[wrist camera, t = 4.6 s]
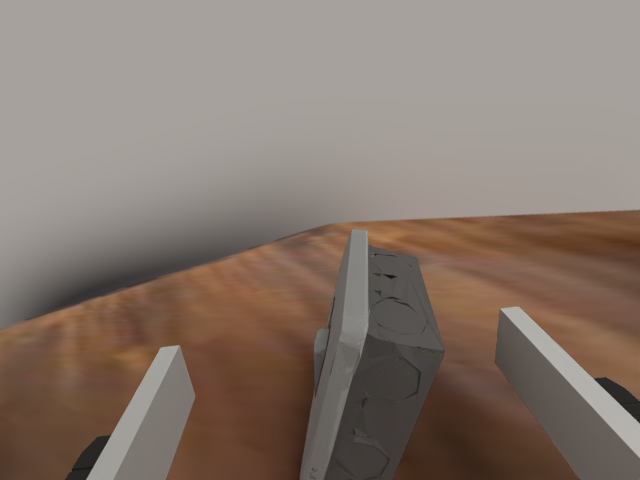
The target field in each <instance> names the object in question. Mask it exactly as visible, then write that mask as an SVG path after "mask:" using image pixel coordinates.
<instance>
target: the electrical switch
mask: <svg viewBox="0 0 640 480" xmlns="http://www.w3.org/2000/svg"><path fill="white" fill-rule="evenodd" d="M426 322H427V325H426V326H425V324H426ZM413 346H414V347H413ZM417 347H418V348H417ZM420 348H422V349H420ZM424 349H426V350H424ZM428 350H430V351H428ZM431 351H434V352H431ZM444 351H445V350H444V347H443V344H442V341H441V337H440V334H439V331H438V327H437V324H436V321H435V317H434V314H433V311H432V307H431V304H430V301H429V297H428V294H427V291H426V288H425V284H424V281H423V278H422V274H421V271H420V268H419V264H418V261H417V258H416V257H413V256H407V255H401V254H396V253H392V252H390V251H387V250H385V249H381V248H376V247H373V246H371V245H369V244H368V231H365V230H358V229H352V230H351V233H350V236H349V239H348V242H347V245H346V248H345V251H344V255H343V258H342V262H341V266H340V270H339V275H338V279H337V283H336V288H335V292H334V297H333V301H332V305H331V309H330V313H329V317H328V322H327V326H326V329H318V330H317V334H316V338H315V343H314V394H313V400H312V406H311V412H310V418H309V423H308V429H307V435H306V441H305V447H304V452H303V458H302V465H301V471H300V480H324V479H325V480H393V477H394V475H395V472H396V470H397V468H398V465H399V463H400V460H401V458H402V455H403V453H404V451H405V448H406V446H407V443H408V441H409V438H410V436H411V433H412V431H413V429H414V426H415V424H416V421H417V419H418V416H419V414H420V412H421V409H422V407H423V404H424V402H425V399H426V397H427V395H428V392H429V390H430V387H431V385H432V382H433V380H434V378H435V375H436V373H437V370H438V368H439V365H440V363H441V361H442V358H443V356H444V355H442V354H444ZM435 352H438V353H442V354H438V353H435ZM412 393H414V394H412Z"/></svg>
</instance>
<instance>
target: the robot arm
mask: <svg viewBox="0 0 640 480" xmlns="http://www.w3.org/2000/svg"><path fill="white" fill-rule="evenodd" d="M495 363H496V365H497V366H498V368H499V369H500V370H501V372H502V373H503V374H504V376H505V377H506V379H507V380H508V381H509V383H510V384H511V385H512V387H513V388H514V390H515V391H516V392H517V394H518V395H519V396H520V398H521V399H522V401H523V402H524V403H525V405H526V406H527V408H528V409H529V410H530V412H531V413H532V414H533V416H534V417H535V419H536V420H537V421H538V423H539V424H540V425H541V427H542V428H543V430H544V431H545V432H546V434H547V435H548V436H549V438H550V439H551V441H552V442H553V443H554V445H555V446H556V448H557V449H558V450H559V452H560V453H561V454H562V456H563V457H564V459H565V460H566V461H567V463H568V464H569V465H570V467H571V468H572V470H573V471H574V472H575V474H576V475H577V476H578V478H579V479H580V480H640V402H639V401H638V400H637V399H636V398H635V397H634V396H633V395H632V394H631V393H630V392H628V391H627V390H626V389H625V388H623V387H622V386H620V385H618V384H616V383H615V382H613V381H611V380H609V379H608V378H606V377H604V378H596V379H593V378H592V377H591V376H590V375H589V374H588V373H587V372H586V371H585V370H584V369H583V368H582V367H581V366H580V365H579V364H578V363H577V362H576V361H574V360H573V359H572V358H571V357H570V356H569V355H568V354H567V353H566V352H565V351H564V350H563V349H562V348H561V347H560V346H559V345H558V344H557V343H556V342H555V341H554V340H553V339H552V338H551V337H550V336H549V335H548V334H547V333H546V332H545V331H543V330H542V329H541V328H540V327H539V326H538V325H537V324H536V323H535V322H534V321H533V320H532V319H531V318H530V317H529V316H528V315H527V314H526V313H525V312H524V311H523V310H522V309H521V308H520V307H519V306H518V307H509V308H501V309H500V314H499V324H498V334H497V344H496V354H495ZM194 400H195V393H194V390H193V387H192V384H191V380H190V377H189V374H188V371H187V367H186V364H185V361H184V358H183V354H182V351H181V348H180V345H178V346H169V347H161V348H160V350H159V352H158V354H157V355H156V357H155V359H154V361H153V362H152V364H151V366H150V368H149V370H148V371H147V373H146V375H145V377H144V378H143V380H142V382H141V384H140V385H139V387H138V389H137V391H136V393H135V394H134V396H133V398H132V400H131V401H130V403H129V405H128V407H127V408H126V410H125V412H124V414H123V416H122V417H121V419H120V421H119V423H118V424H117V426H116V428H115V430H114V431H113V433H112V435H110V436H102V437H97V438H96V439H95V440H94V441H93V442H92V443H91V444H90V445H89V446H88V447H87V448H86V449H85V450H84V451H83V452H82V454H81V455H80V457H79V458H78V460H77V462H76V463H75V465H74V467H73V468H72V472H70V473H69V475H68V476H67V478H66V479H65V480H166V478H167V475H168V473H169V470H170V467H171V464H172V461H173V459H174V456H175V453H176V450H177V447H178V445H179V442H180V439H181V436H182V433H183V431H184V428H185V425H186V422H187V419H188V417H189V414H190V411H191V408H192V405H193V402H194Z"/></svg>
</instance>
